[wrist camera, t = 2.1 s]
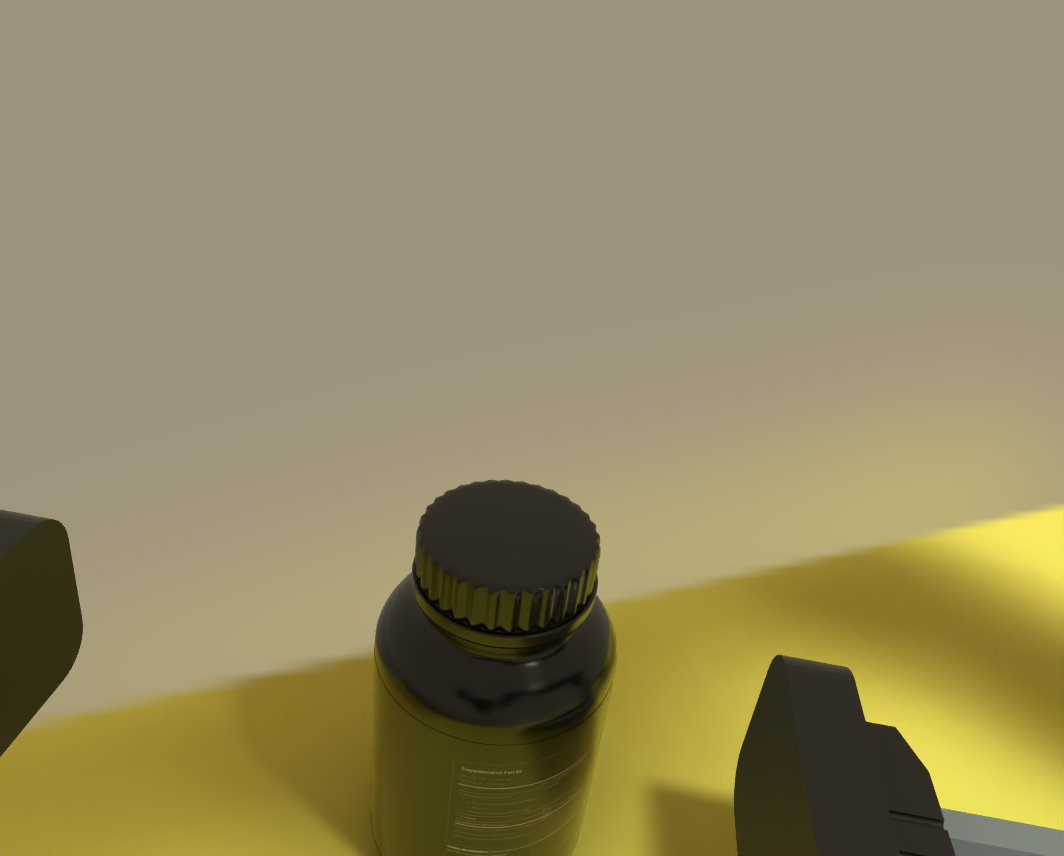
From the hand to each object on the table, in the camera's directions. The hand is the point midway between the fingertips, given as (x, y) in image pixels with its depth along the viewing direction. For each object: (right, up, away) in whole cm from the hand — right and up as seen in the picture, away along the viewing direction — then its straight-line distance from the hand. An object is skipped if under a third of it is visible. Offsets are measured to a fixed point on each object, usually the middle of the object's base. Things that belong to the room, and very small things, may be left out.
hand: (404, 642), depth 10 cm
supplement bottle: (0, -11, +19) cm, 22 cm away
